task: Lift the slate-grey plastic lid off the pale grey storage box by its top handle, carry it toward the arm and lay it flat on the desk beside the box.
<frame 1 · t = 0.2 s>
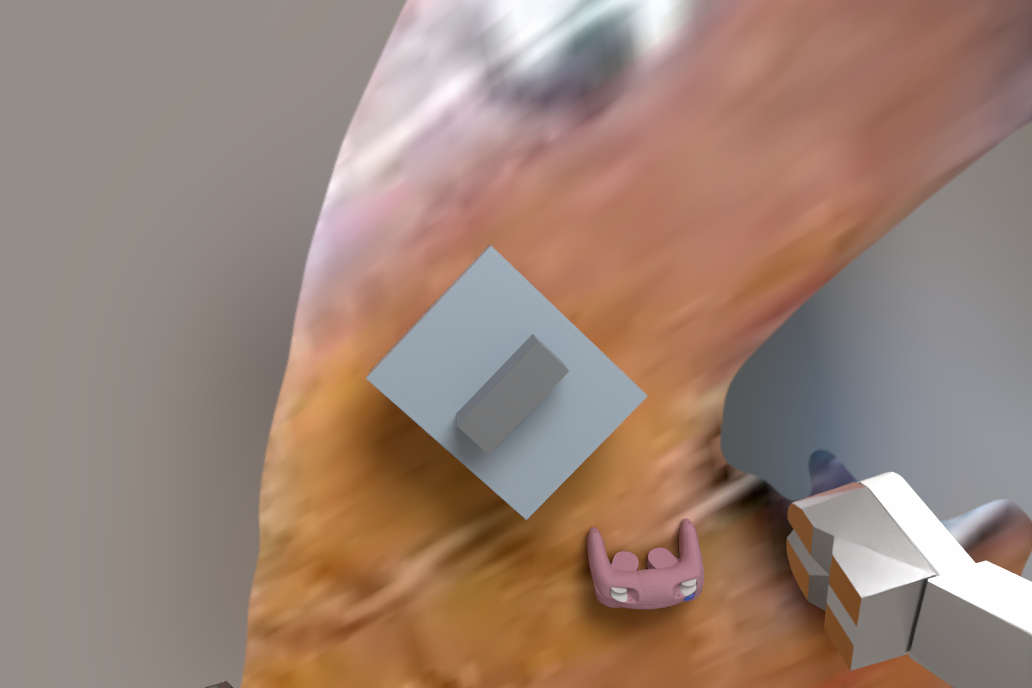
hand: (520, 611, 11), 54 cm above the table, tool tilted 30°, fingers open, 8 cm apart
lid: (508, 383, 57), point 8 cm above the table, touching storage box
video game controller: (638, 549, 69), on the table
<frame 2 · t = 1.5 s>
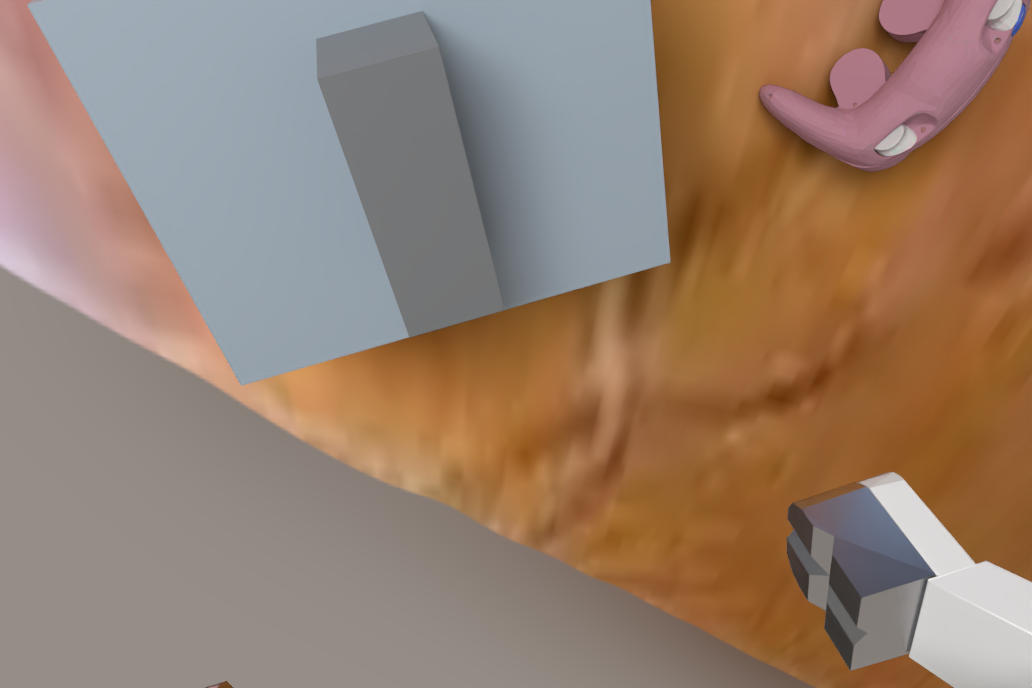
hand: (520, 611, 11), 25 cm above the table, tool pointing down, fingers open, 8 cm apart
lid: (405, 143, 24), point 8 cm above the table, touching storage box
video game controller: (856, 28, 34), on the table
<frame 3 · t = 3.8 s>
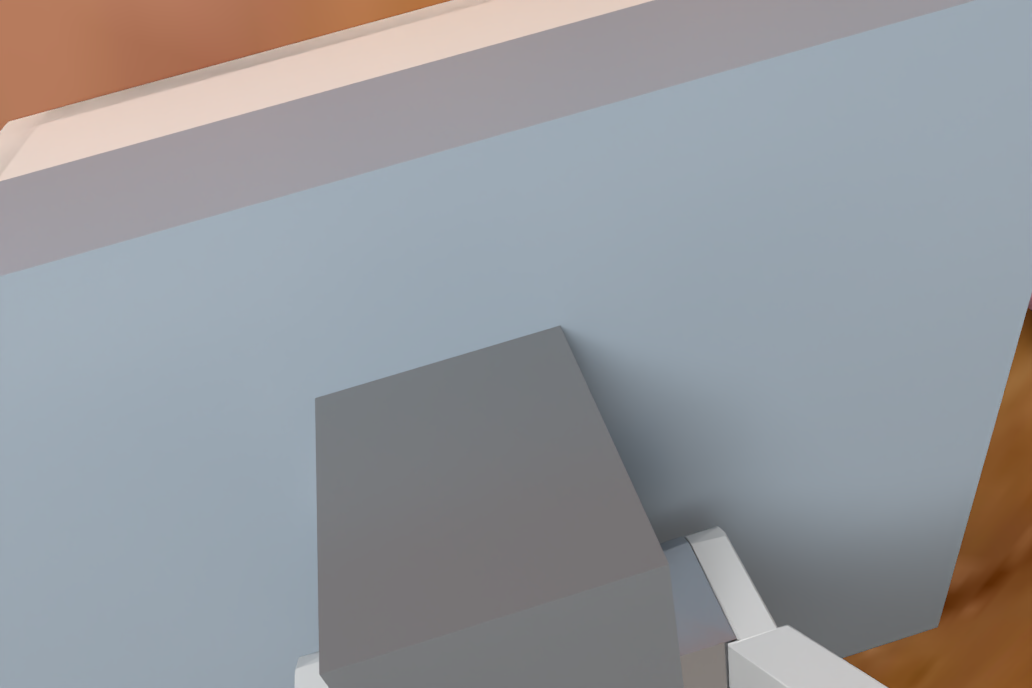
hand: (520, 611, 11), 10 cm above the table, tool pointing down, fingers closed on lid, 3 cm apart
storage box: (428, 255, 19), on the table
lid: (491, 500, 12), point 8 cm above the table, touching gripper, storage box
when the fingers open (5 cm above the table, at t = 10.0 s): lid drops 1 cm, point 1 cm above the table.
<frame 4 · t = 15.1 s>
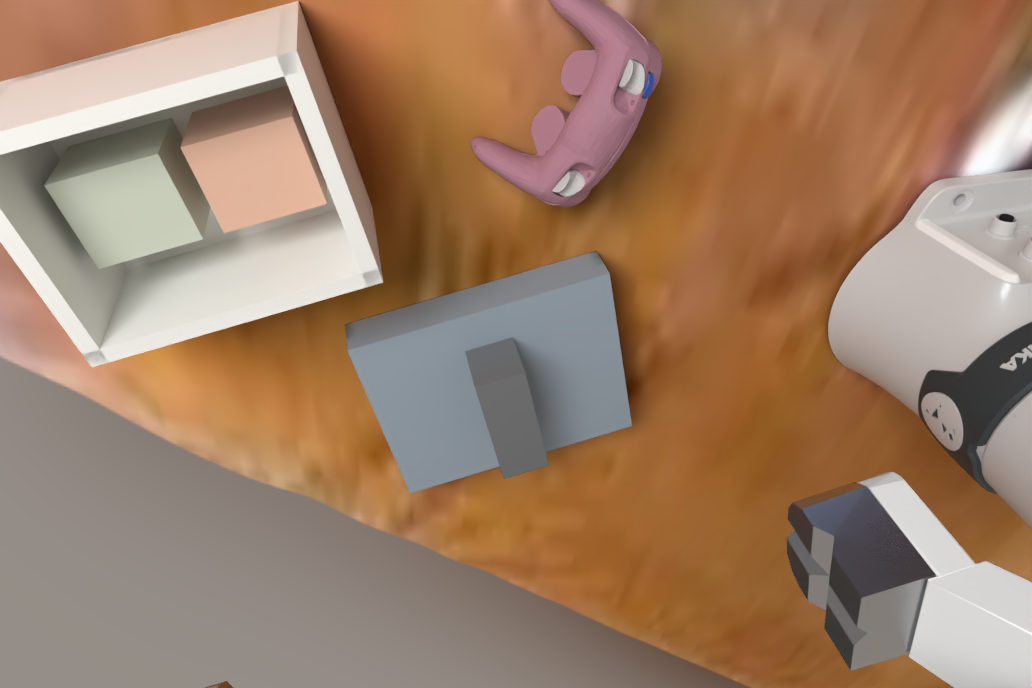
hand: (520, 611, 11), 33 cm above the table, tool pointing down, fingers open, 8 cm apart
storage box: (204, 150, 39), on the table
lid: (498, 380, 50), point 1 cm above the table
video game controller: (551, 87, 41), on the table
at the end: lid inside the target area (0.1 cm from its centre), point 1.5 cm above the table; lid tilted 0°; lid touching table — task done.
